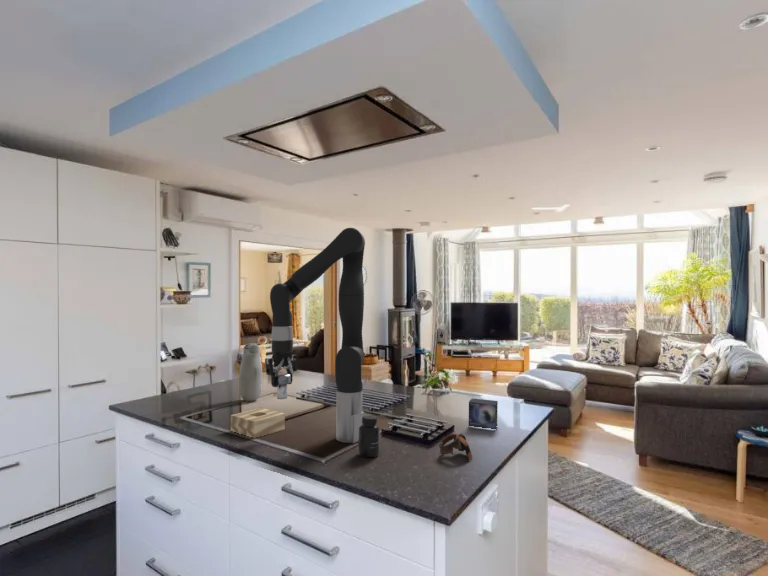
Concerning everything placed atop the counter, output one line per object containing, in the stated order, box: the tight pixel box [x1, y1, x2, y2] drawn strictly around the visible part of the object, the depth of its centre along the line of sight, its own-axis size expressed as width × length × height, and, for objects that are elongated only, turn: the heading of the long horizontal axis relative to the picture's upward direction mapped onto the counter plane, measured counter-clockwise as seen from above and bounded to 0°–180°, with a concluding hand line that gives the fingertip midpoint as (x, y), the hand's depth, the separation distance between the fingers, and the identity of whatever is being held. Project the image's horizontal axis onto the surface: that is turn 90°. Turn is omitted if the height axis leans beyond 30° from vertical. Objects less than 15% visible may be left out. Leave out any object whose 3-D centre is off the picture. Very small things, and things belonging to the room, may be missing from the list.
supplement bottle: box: [357, 414, 381, 459], centre depth 139 cm, size 7×7×12 cm
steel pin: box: [276, 372, 291, 400], centre depth 156 cm, size 6×6×8 cm
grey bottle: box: [239, 342, 263, 402], centre depth 210 cm, size 10×10×28 cm
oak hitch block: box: [230, 407, 286, 439], centre depth 163 cm, size 14×14×6 cm
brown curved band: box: [438, 433, 473, 461], centre depth 138 cm, size 12×10×8 cm
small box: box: [468, 397, 499, 430], centre depth 169 cm, size 11×6×10 cm, turn 68°
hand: (282, 385), depth 156 cm, fingers closed on steel pin, 6 cm apart
